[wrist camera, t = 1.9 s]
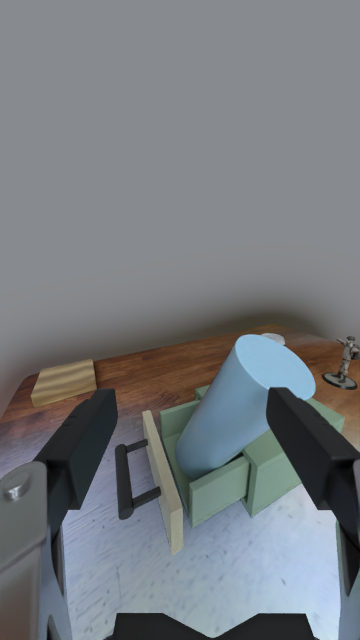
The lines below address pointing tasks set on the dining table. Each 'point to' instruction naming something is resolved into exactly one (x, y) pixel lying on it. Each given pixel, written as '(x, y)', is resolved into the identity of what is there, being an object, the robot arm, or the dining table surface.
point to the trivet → (64, 382)
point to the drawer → (178, 477)
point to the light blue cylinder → (239, 403)
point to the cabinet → (273, 463)
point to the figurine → (344, 366)
